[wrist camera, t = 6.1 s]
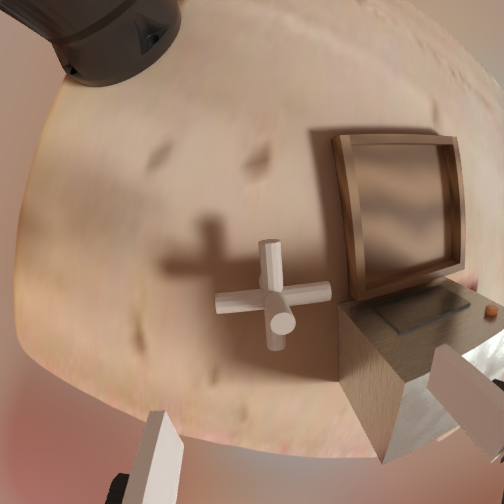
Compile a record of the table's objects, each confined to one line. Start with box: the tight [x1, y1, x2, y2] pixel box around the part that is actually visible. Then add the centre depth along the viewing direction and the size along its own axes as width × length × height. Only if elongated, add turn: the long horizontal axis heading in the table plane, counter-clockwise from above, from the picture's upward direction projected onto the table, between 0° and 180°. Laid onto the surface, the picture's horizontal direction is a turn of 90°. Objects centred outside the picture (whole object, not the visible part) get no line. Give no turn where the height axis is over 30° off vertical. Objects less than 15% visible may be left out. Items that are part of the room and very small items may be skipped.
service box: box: [337, 276, 504, 465], centre depth 24 cm, size 13×16×15 cm
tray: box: [331, 134, 466, 301], centre depth 27 cm, size 17×17×2 cm
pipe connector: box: [215, 239, 332, 351], centre depth 24 cm, size 10×10×10 cm
